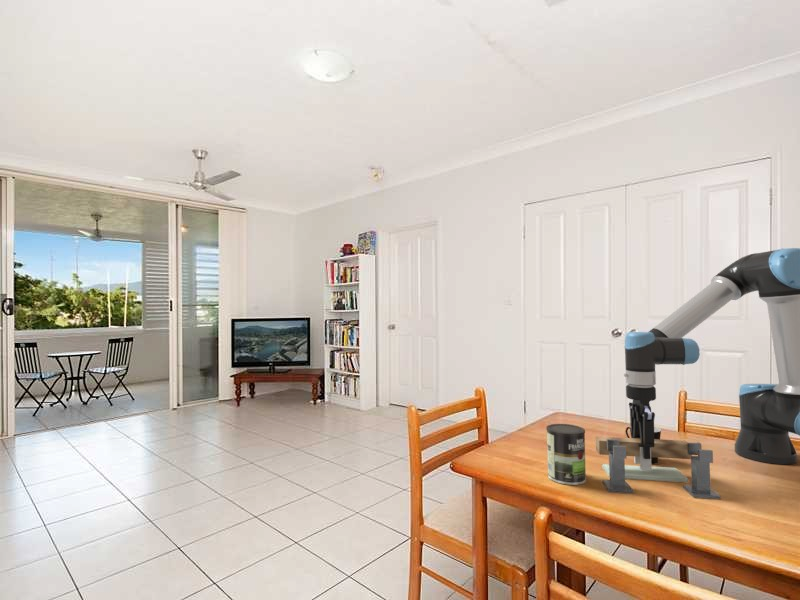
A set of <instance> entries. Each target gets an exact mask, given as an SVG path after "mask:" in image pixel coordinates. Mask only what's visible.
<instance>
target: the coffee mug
mask: <svg viewBox="0 0 800 600" xmlns="http://www.w3.org/2000/svg"><path fill="white" fill-rule="evenodd" d="M628 431H629V432H630V434H631V426H627V427H626V428H625V435H626V438H633V436H631V435H630V436H629V434H628V433H629V432H628ZM661 434H662V429H661V428H660V427H657V426H654V439H661ZM658 462H659V458H657V457H651V465H655V464H657V463H658Z"/></svg>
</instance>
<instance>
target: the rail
mask: <svg viewBox="0 0 800 600" xmlns="http://www.w3.org/2000/svg"><path fill="white" fill-rule="evenodd" d="M607 439H617V440H619V442H620V446H626V457H634V456H637V457H640V447H639V446H638V444H639V445H641V440H640V438H631V437H630V438H628V437H615V436H613V437H612V436H595V451H596V452H597V453H598V454H599V455H600V456H601V455H602V456H609V452H613V451H608V450H607ZM687 442H688V441H686V440H683V439H661V438H660V439H654V447H651V457H657V458H658V459H660V458H661V459H679V460H691V456H693V455H689V454H688V447H687Z"/></svg>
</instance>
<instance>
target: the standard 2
mask: <svg viewBox="0 0 800 600" xmlns="http://www.w3.org/2000/svg"><path fill="white" fill-rule="evenodd" d="M686 442H687V447H688V454H689V455H692V456H691V459H690V468H691V469H690V472H691V473H690V474H691V475H690V476H691V484H682V489H683V490H685V491H686V492H687V493H688V494H689V495H690V496H691V497H692V498H695V499H709V500H710V499H711V500H721V498H722V497H721V495H720V494H719V493H717V492H716V491H715V490H714V489H713V488H711V467H710V466H711V465H710V464H713V463H714V453H713V452H714V451H713V450H712V449H702V448H703V447H702V443H700V442H688V441H686Z"/></svg>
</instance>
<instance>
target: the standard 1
mask: <svg viewBox="0 0 800 600" xmlns="http://www.w3.org/2000/svg"><path fill="white" fill-rule="evenodd" d="M607 450H608V451H613V452H609V455H608V464H609V474H610V477H609V480H608V479H601V481H602V482H601V483H602V484H603V486H604V487H605V489H606V490H607V492H608V493H617V494H618V493H619V494H632V495H633V494H634V489H633V488H632V487H631V485H630V484H629V483H628V482H627V481H626V479H625V465H626V463H625V460H627V456H626V446H620V442H619V440H617V439H607Z"/></svg>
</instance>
